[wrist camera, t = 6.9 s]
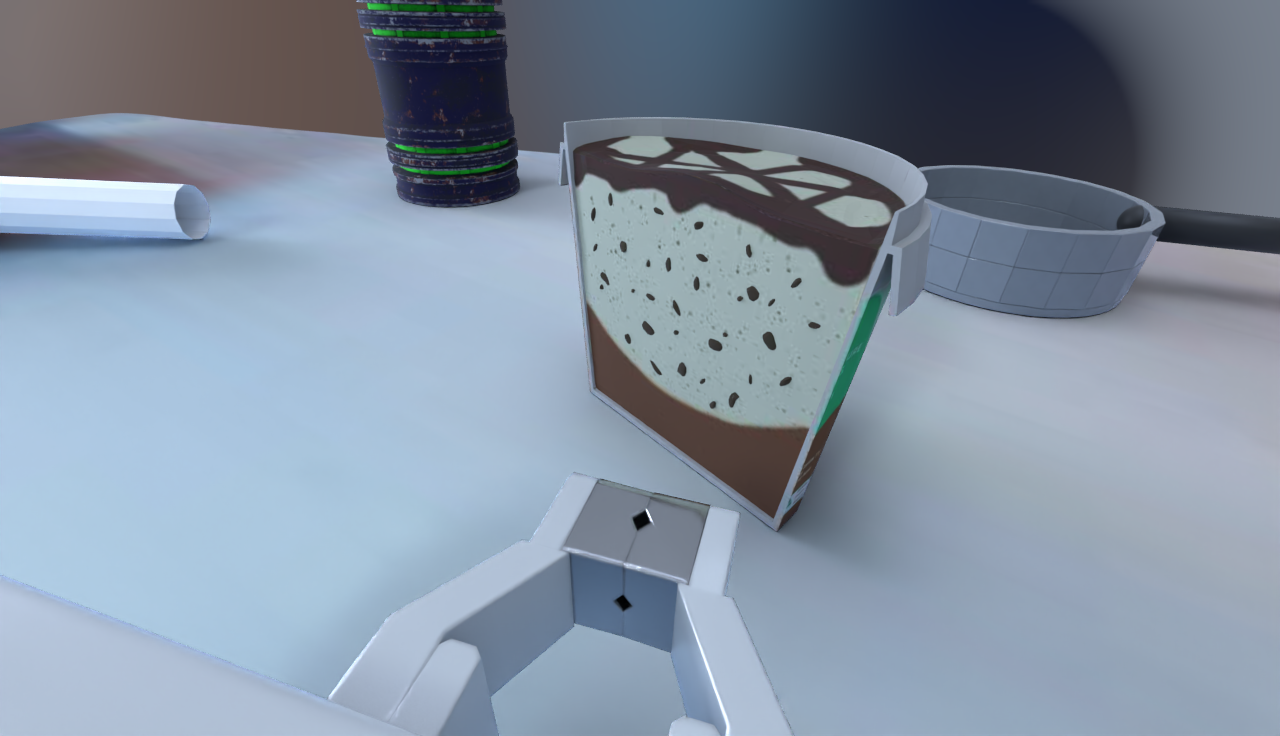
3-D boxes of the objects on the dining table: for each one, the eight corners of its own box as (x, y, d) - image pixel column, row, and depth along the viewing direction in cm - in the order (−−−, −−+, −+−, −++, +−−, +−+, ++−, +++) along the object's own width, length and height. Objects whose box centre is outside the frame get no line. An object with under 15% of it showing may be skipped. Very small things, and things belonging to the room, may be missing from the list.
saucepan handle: (1360, 257, 30) (1385, 224, 29) (1386, 270, 28) (1414, 235, 27) (1105, 230, 32) (1120, 199, 32) (1117, 241, 31) (1133, 208, 30)
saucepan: (1077, 244, 38) (1108, 176, 36) (1165, 335, 28) (1219, 249, 25) (873, 221, 41) (889, 157, 39) (883, 296, 31) (907, 215, 28)
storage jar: (513, 207, 42) (488, -37, 34) (379, 207, 41) (320, -42, 33) (526, 173, 50) (509, -30, 42) (415, 172, 50) (374, -34, 42)
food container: (921, 467, 19) (1041, 170, 14) (819, 563, 16) (926, 219, 10) (673, 330, 27) (688, 103, 22) (568, 375, 24) (554, 119, 18)
